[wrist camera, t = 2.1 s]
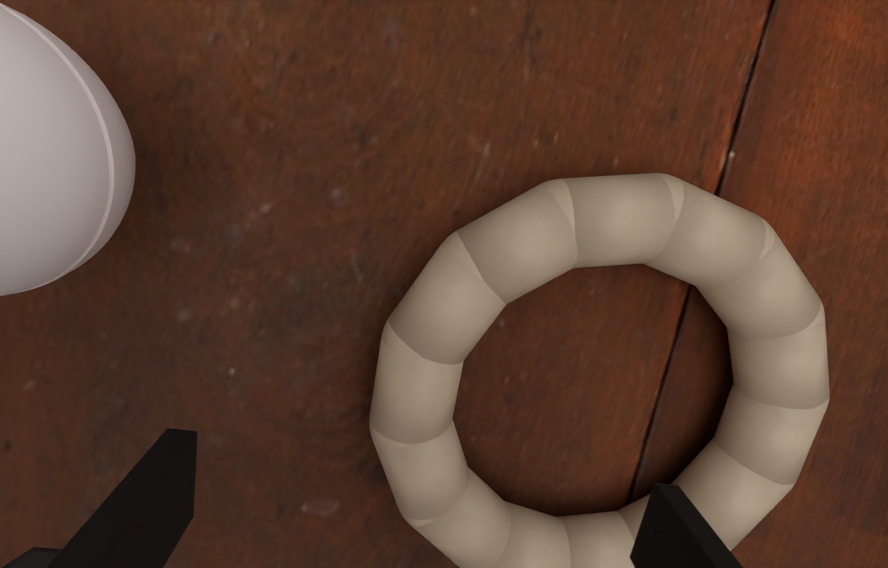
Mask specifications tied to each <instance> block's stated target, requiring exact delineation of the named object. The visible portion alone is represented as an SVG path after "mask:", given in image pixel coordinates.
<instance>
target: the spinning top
mask: <svg viewBox="0 0 888 568" xmlns="http://www.w3.org/2000/svg"><path fill="white" fill-rule="evenodd" d="M135 168H136V161H135V151H134V145H133V141H132V137H131V134H130V131H129V129H128V126H127V124H126V121H125V119H124V117H123V115H122V113H121V111H120V109H119V107H118V105H117V104H116V102H115V100H114V99H113V97H112V95H111V94H110V92H109V91H108V89H107V88H106V87H105V85H104V84H103V83H102V81H101V80H100V79H99V77H98V76H97V75H96V74H95V72H94V71H93V70H92V69H91V68H90V67H89V66H88V65H87V63H86V62H85V61H84V60H83V59H82V58H81V57H80V56H79V55H78V54H77V53H76V52H74V51H73V50H72V49H71V48H70V47H69V46H68V45H67V44H65V43H64V42H63V41H62V40H61V39H59V38H58V37H57V36H55V35H54V34H53V33H51V32H50V31H48V30H47V29H46V28H44V27H43V26H41V25H40V24H38V23H37V22H35V21H33V20H32V19H30V18H28V17H27V16H25V15H23V14H21V13H19V12H17V11H16V10H13V9H11V8H9V7H7V6H5V5H4V4H2V3H0V296H3V295H9V294H14V293H19V292H24V291H27V290H31V289H34V288H37V287H40V286H43V285H46V284H48V283H50V282H53V281H55V280H57V279H59V278H60V277H62V276H64V275H66V274H67V273H69V272H71V271H73V270H74V269H76V268H78V267H79V266H81V265H82V264H84V263H85V262H86V261H88V260H89V259H90V258H91V257H93V256H94V255H95V254H96V253H97V252H98V251H99V250H100V249H101V248H102V247H103V246H104V245H105V244H106V243H107V242H108V240H109V239H110V238H111V237H112V235H113V234H114V232H115V231H116V229H117V228H118V226H119V224H120V223H121V221H122V219H123V217H124V215H125V212H126V210H127V208H128V205H129V202H130V199H131V195H132V191H133V186H134V180H135Z"/></svg>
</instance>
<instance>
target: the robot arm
mask: <svg viewBox="0 0 888 568" xmlns="http://www.w3.org/2000/svg"><path fill="white" fill-rule="evenodd" d="M196 451H197V431H189V430H180V429H171V428H167V430H166V431H165V432H164V433H163V434H162V435H161V436H160V438H159V439H158V440H157V441H156V442H155V443H154V445H153V446H152V447H151V448H150V449H149V450H148V451H147V453H146V454H145V455H144V456H143V457H142V458H141V460H140V461H139V462H138V463H137V464H136V465H135V466H134V468H133V469H132V470H131V471H130V472H129V473H128V474H127V476H126V477H125V478H124V479H123V480H122V481H121V483H120V484H119V485H118V486H117V487H116V488H115V489H114V491H113V492H112V493H111V494H110V495H109V496H108V497H107V499H106V500H105V501H104V502H103V503H102V504H101V506H100V507H99V508H98V509H97V510H96V511H95V512H94V514H93V515H92V516H91V517H90V518H89V519H88V520H87V522H86V523H85V524H84V525H83V526H82V527H81V529H80V530H79V531H78V532H77V533H76V534H75V535H74V537H73V538H72V539H71V540H70V541H69V542H68V543H67V545H66V546H65V547H64V548H63V549H62V550H61V549H50V548H38V547H33V548H32V549H30V550H29V551H27V552H25V553H24V554H22V555H21V556H19V557H18V558H16V559H14V560H13V561H11V562H10V563H8V564H7V565H5V566H4V567H2V568H163V567H164V565H165V564H166V562H167V560H168V558H169V557H170V555H171V553H172V552H173V550H174V548H175V547H176V545H177V543H178V542H179V540H180V538H181V536H182V535H183V533H184V531H185V530H186V528H187V526H188V525H189V523H190V521H191V520H192V518H193V515H194V494H195V472H196ZM630 559H631V561H632V563H633V565H634V567H635V568H743V567H742V566H741V564H740V563H739V562H738V561H737V559H736V558H735V557H734V555H733V554H732V553H731V552H730V550H729V549H728V548H727V547H726V545H725V544H724V543H723V541H722V540H721V539H720V538H719V536H718V535H717V534H716V533H715V531H714V530H713V529H712V527H711V526H710V525H709V524H708V522H707V521H706V520H705V519H704V517H703V516H702V515H701V513H700V512H699V511H698V510H697V508H696V507H695V506H694V505H693V503H692V502H691V501H690V499H689V498H688V497H687V496H686V494H685V493H684V492H683V491H682V489H681V488H680V487H679V486H678V485H672V484H663V483H654V485H653V488H652V491H651V494H650V497H649V500H648V503H647V506H646V509H645V512H644V515H643V518H642V521H641V524H640V527H639V530H638V533H637V536H636V539H635V542H634V545H633V548H632V551H631V554H630Z"/></svg>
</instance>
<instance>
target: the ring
mask: <svg viewBox="0 0 888 568" xmlns="http://www.w3.org/2000/svg"><path fill="white" fill-rule="evenodd" d="M639 263H642V264H645V265H647V266H650V267H652V268H654V269H657V270H659V271H661V272H664V273H666V274H668V275H671V276H673V277H676V278H678V279H680V280H683V281H685V282H687V283H690V284H692V285H694V286H696V287H697V289H698V290H699V291H700V293H701V294H702V295H703V297H704V298H705V299H706V301H707V302H708V303H709V305H710V306H711V307H712V309H713V310H714V311H715V313H716V314H717V315H718V316H719V318H720V319H721V320H722V322H723V323H724V324H725V326H726V327H727V332H728V340H729V348H730V356H731V364H732V372H733V380H734V382H733V385H732V388H731V390H730V393H729V396H728V399H727V402H726V405H725V407H724V410H723V413H722V416H721V419H720V422H719V424H718V427H717V430H716V433H715V436H714V438H713V439H712V440H711V441H710V442H709V443H708V444H707V445H706V446H705V447H704V448H703V450H702V451H701V452H700V453H699V454H698V455H697V456H696V457H695V458H694V459H693V460H692V462H691V463H690V464H689V465H688V466H687V467H686V468H685V469H684V470H683V471H682V472H681V474H680V475H679V476H678V477H677V478H676V479H675V480H674V481H673V482H672V483H671V484H672V485H678V486H679V487H680V488H681V489H682V491H683V492H684V493H685V494H686V496H687V497H688V498H689V499H690V501H691V502H692V503H693V505H694V506H695V507H696V508H697V510H698V511H699V512H700V513H701V515H702V516H703V517H704V519H705V520H706V521H707V522H708V524H709V525H710V526H711V527H712V529H713V530H714V531H715V533H716V534H717V535H718V536H719V538H720V539H721V540H722V541H723V543H724V544H725V545H726V547H727V548H728V549H729V550H730V551H731V550H732V549H733V548H734V547H735V546H736V545H737V544H738V543H739V542H740V541H741V540H742V539H743V538H744V537H745V536H746V535H747V534H748V533H749V532H750V531H751V530H752V529H753V528H754V527H755V526H756V525H757V524H758V523H759V522H760V521H761V520H762V519H763V518H764V517H765V516H766V515H767V514H768V513H769V512H770V511H771V510H772V509H773V508H774V507H775V506H776V504H777V503H778V502H779V501H780V500H781V499H782V498H783V497H784V496H785V495H786V494H787V493H788V492H789V491H790V490H791V489H792V488H793V486H794V485H795V482H796V481H797V479H798V476H799V474H800V471H801V469H802V467H803V464H804V462H805V459H806V457H807V455H808V452H809V450H810V447H811V445H812V442H813V440H814V438H815V435H816V433H817V430H818V428H819V426H820V423H821V421H822V418H823V416H824V413H825V411H826V409H827V406H828V403H829V395H830V391H829V375H828V359H827V344H826V328H825V313H824V309H823V304H822V302H821V300H820V298H819V296H818V295H817V293H816V292H815V290H814V289H813V287H812V286H811V285H810V283H809V282H808V280H807V279H806V277H805V276H804V274H803V273H802V271H801V270H800V268H799V267H798V265H797V264H796V262H795V261H794V259H793V258H792V256H791V255H790V253H789V252H788V250H787V249H786V247H785V246H784V244H783V243H782V242H781V240H780V239H779V237H778V236H777V234H776V233H775V231H774V230H773V228H772V227H771V226H770V225H769V224H768V223H767V222H766V221H765V220H764V219H762V218H761V217H759V216H758V215H756V214H754V213H752V212H750V211H747V210H745V209H743V208H741V207H739V206H737V205H735V204H732V203H730V202H728V201H726V200H724V199H722V198H719V197H717V196H715V195H713V194H711V193H709V192H707V191H704V190H702V189H700V188H698V187H696V186H694V185H692V184H689V183H687V182H685V181H683V180H681V179H679V178H676V177H674V176H670V175H667V174H663V173H646V174H630V175H613V176H596V177H579V178H562V179H554V180H549V181H546V182H544V183H541V184H539V185H537V186H536V187H534V188H532V189H530V190H528V191H527V192H525V193H523V194H521V195H519V196H518V197H516V198H514V199H512V200H510V201H509V202H507V203H505V204H503V205H502V206H500V207H498V208H496V209H494V210H493V211H491V212H489V213H487V214H485V215H484V216H482V217H480V218H478V219H476V220H475V221H473V222H471V223H469V224H467V225H466V226H464V227H462V228H460V229H458V230H457V231H455V232H453V233H452V234H451V235H449V236H448V237H447V238H446V239H445V240H444V241H443V242H442V244H441V245H440V246H439V248H438V249H437V251H436V252H435V253H434V255H433V256H432V258H431V259H430V260H429V262H428V263H427V265H426V266H425V267H424V269H423V270H422V272H421V273H420V274H419V276H418V277H417V279H416V280H415V281H414V283H413V284H412V286H411V287H410V288H409V290H408V291H407V293H406V294H405V295H404V297H403V298H402V300H401V301H400V302H399V304H398V305H397V307H396V308H395V309H394V311H393V312H392V314H391V315H390V316H389V318H388V320H387V322H386V323H385V326H384V328H383V332H382V336H381V342H380V349H379V356H378V363H377V369H376V376H375V383H374V389H373V396H372V403H371V410H370V417H369V428H370V433H371V437H372V440H373V442H374V445H375V448H376V450H377V453H378V456H379V458H380V461H381V464H382V466H383V469H384V472H385V474H386V477H387V479H388V482H389V485H390V487H391V490H392V493H393V495H394V498H395V501H396V503H397V506H398V508H399V511H400V512H401V514H402V516H403V517H404V519H405V520H406V521H407V522H408V523H409V524H410V525H411V526H412V527H413V528H414V529H416V530H417V531H418V532H419V533H420V534H421V535H423V536H424V537H425V538H426V539H427V540H428V541H430V542H431V543H432V544H433V545H434V546H435V547H436V548H438V549H439V550H440V551H441V552H442V553H443V554H445V555H446V556H447V557H448V558H449V559H450V560H452V561H453V562H454V563H455V564H456V565H457V566H458V567H460V568H635V567H634V565H633V563H632V561H631V559H630V554H631V551H632V548H633V545H634V542H635V539H636V536H637V533H638V530H639V527H640V524H641V521H642V518H643V515H644V512H645V509H646V506H647V503H648V500H649V497H650V494H649V495H647V496H645V497H643V498H641V499H639V500H637V501H635V502H633V503H631V504H629V505H627V506H625V507H623V508H621V509H619V510H617V511H612V512H602V513H592V514H581V515H571V516H561V517H554V516H551V515H548V514H545V513H542V512H538V511H535V510H532V509H529V508H525V507H522V506H519V505H516V504H513V503H509V502H506V501H504V500H503V499H501V498H500V497H499V496H498V495H497V494H496V493H495V492H494V491H493V490H492V489H491V488H490V487H489V486H488V485H487V484H486V483H485V482H484V481H482V480H481V479H480V478H479V477H478V476H477V475H476V474H475V473H474V472H473V471H472V470H471V469H470V468H469V467H468V466H467V463H466V460H465V457H464V453H463V450H462V447H461V444H460V441H459V438H458V435H457V431H456V428H455V425H454V422H453V419H452V418H453V413H454V408H455V403H456V398H457V392H458V387H459V382H460V377H461V372H462V367H463V362H464V359H465V358H466V357H467V355H468V354H469V353H470V352H471V350H472V349H473V348H474V346H475V345H476V344H477V342H478V341H479V340H480V338H481V337H482V336H483V334H484V333H485V332H486V331H487V329H488V328H489V327H490V325H491V324H492V323H493V321H494V320H495V319H496V317H497V316H498V315H499V314H500V312H501V311H502V310H503V308H504V307H505V306H506V304H508V303H510V302H511V301H513V300H515V299H517V298H519V297H521V296H522V295H524V294H526V293H528V292H530V291H532V290H534V289H535V288H537V287H539V286H541V285H543V284H545V283H547V282H548V281H550V280H552V279H554V278H556V277H558V276H559V275H561V274H563V273H565V272H567V271H569V270H571V269H572V268H582V267H596V266H611V265H625V264H639Z"/></svg>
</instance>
